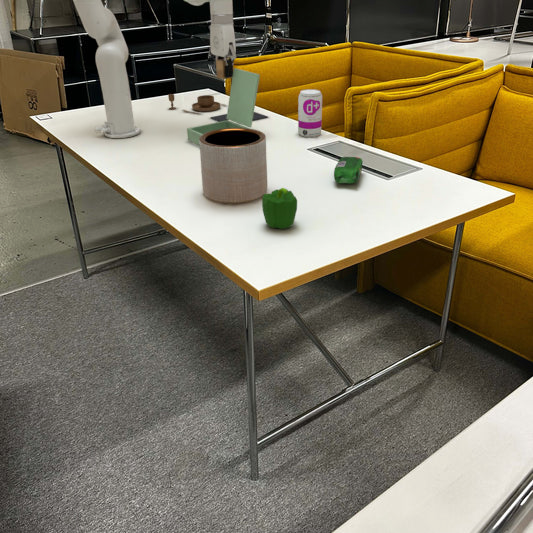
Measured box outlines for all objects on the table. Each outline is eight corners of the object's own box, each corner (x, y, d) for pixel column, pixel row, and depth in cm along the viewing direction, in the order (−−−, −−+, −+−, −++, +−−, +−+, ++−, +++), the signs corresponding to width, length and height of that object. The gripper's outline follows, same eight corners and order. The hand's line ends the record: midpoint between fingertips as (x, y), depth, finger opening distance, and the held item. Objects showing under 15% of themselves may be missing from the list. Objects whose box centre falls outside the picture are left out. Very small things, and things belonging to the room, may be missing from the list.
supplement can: (321, 137, 196) (323, 94, 188) (298, 137, 196) (298, 94, 188) (320, 131, 203) (321, 88, 195) (297, 131, 203) (298, 89, 195)
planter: (244, 210, 142) (241, 151, 135) (189, 197, 151) (184, 140, 143) (279, 188, 155) (279, 132, 148) (227, 177, 164) (224, 124, 156)
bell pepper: (259, 220, 137) (258, 181, 132) (291, 216, 139) (291, 178, 134) (267, 234, 130) (266, 195, 125) (300, 230, 132) (301, 191, 127)
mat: (229, 125, 211) (229, 124, 211) (210, 118, 221) (210, 117, 221) (267, 117, 220) (267, 116, 220) (247, 110, 230) (247, 109, 230)
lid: (258, 74, 183) (260, 74, 184) (233, 68, 194) (235, 68, 194) (249, 127, 190) (251, 127, 190) (226, 118, 200) (228, 118, 200)
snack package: (330, 188, 155) (331, 170, 152) (339, 169, 168) (340, 152, 165) (356, 190, 153) (357, 172, 150) (363, 170, 166) (364, 154, 163)
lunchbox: (209, 152, 184) (208, 138, 182) (188, 142, 194) (186, 128, 192) (250, 142, 192) (250, 128, 190) (228, 133, 203) (227, 120, 200)
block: (223, 79, 195) (222, 61, 192) (216, 77, 198) (215, 59, 195) (233, 77, 197) (233, 59, 194) (227, 75, 200) (226, 58, 197)
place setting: (204, 115, 225) (203, 100, 222) (167, 109, 235) (165, 95, 232) (229, 105, 238) (229, 91, 235) (193, 100, 247) (192, 87, 244)
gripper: (200, 18, 192) (204, 73, 202) (225, 22, 180) (228, 81, 189) (218, 17, 196) (222, 71, 205) (244, 21, 184) (247, 78, 193)
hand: (225, 75), depth 197 cm, fingers closed on block, 4 cm apart
